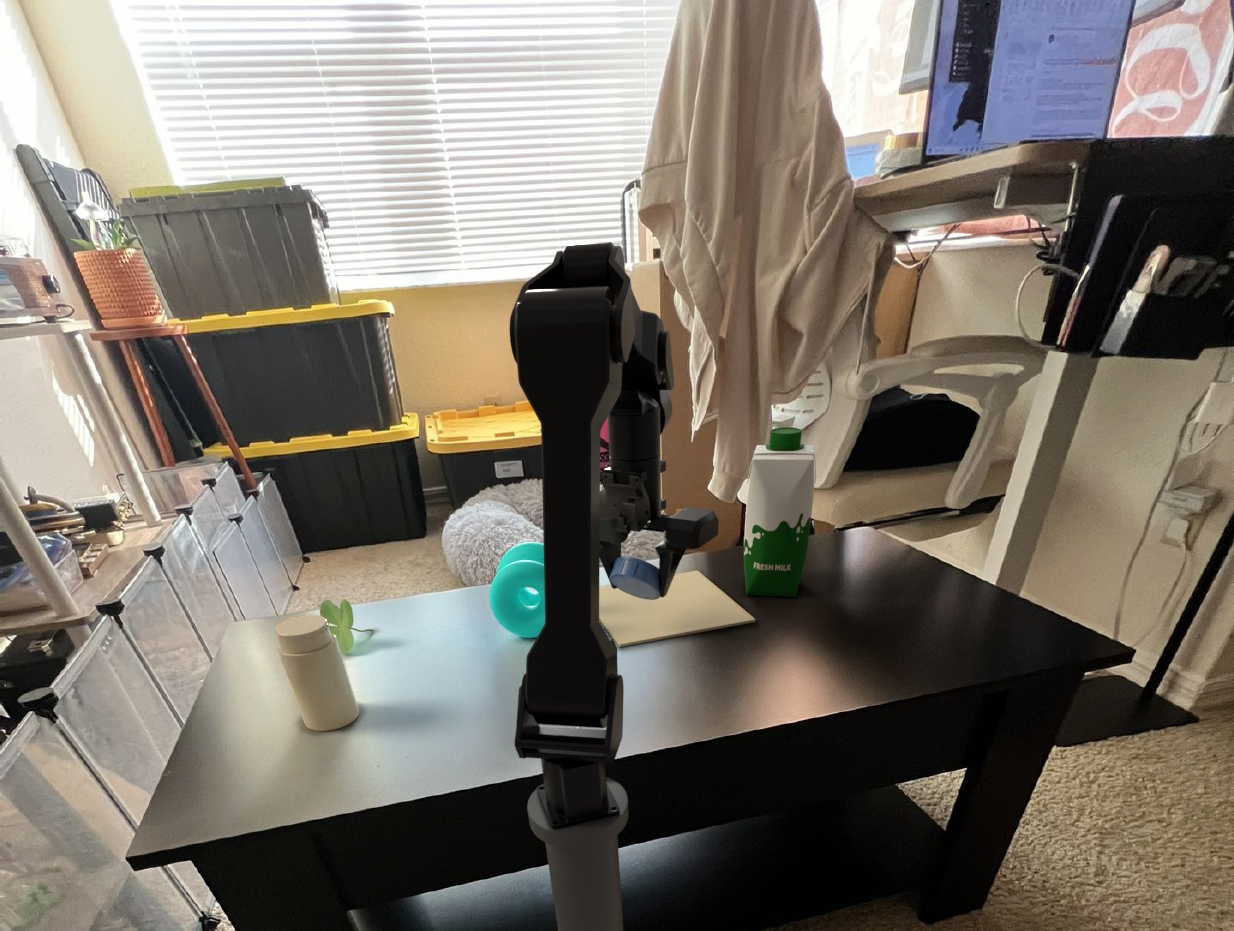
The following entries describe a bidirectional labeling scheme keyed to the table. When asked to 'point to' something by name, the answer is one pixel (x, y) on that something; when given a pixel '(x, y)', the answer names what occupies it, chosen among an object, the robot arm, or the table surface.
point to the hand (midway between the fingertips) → (639, 592)
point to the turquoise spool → (520, 590)
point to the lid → (636, 578)
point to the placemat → (669, 611)
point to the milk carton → (778, 514)
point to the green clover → (340, 623)
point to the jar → (316, 672)
